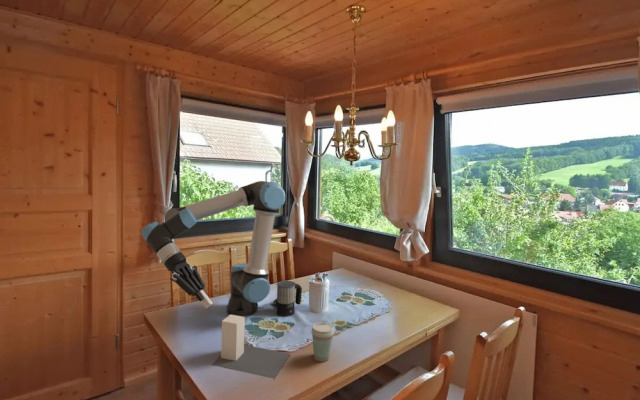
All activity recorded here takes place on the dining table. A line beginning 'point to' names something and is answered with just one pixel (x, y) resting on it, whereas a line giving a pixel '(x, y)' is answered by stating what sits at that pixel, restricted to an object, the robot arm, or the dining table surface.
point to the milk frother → (287, 297)
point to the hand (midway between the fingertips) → (209, 305)
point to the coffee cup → (322, 341)
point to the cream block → (232, 337)
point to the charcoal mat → (256, 361)
